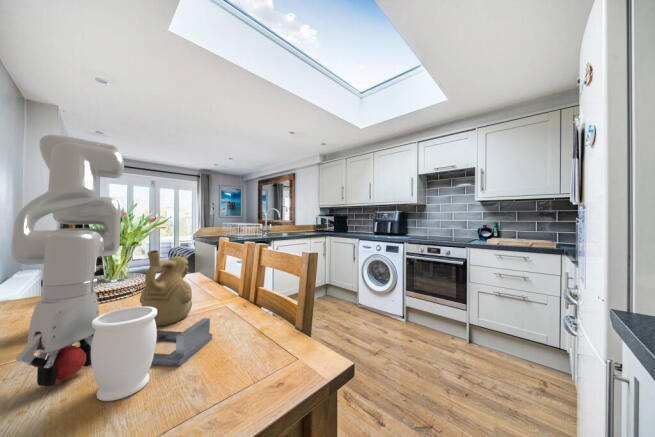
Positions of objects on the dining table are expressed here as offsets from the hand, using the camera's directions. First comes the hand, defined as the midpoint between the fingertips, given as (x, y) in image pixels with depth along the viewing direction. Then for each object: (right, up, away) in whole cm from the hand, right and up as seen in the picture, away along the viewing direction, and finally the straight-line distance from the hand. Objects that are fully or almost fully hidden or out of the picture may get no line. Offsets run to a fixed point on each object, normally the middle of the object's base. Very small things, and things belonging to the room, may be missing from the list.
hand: (66, 373), depth 51 cm
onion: (0, -2, 0) cm, 2 cm away
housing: (+10, -2, +14) cm, 17 cm away
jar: (+14, -2, -2) cm, 14 cm away
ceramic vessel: (-1, -2, +33) cm, 33 cm away
